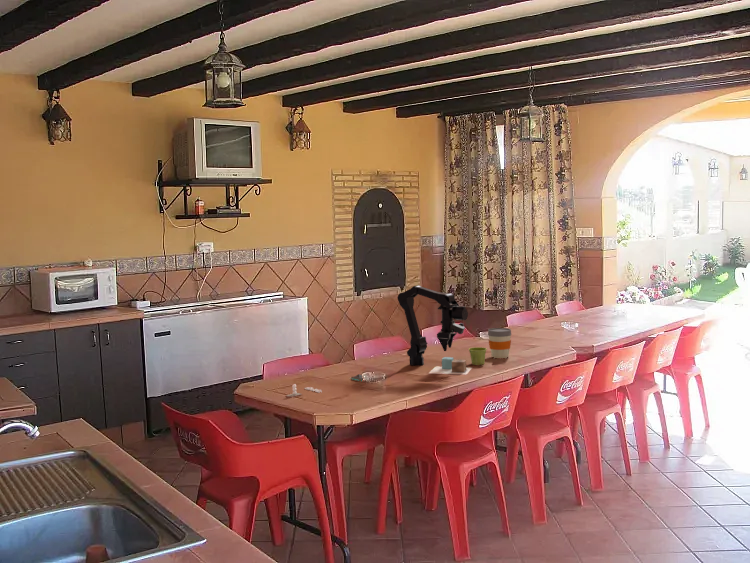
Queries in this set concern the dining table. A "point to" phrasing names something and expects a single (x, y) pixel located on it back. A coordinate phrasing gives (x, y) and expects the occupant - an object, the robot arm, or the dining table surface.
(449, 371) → the board
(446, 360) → the teal cube
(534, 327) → the dining table surface
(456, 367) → the walnut block
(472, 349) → the plant pot
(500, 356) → the reusable coffee cup
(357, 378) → the game pieces
